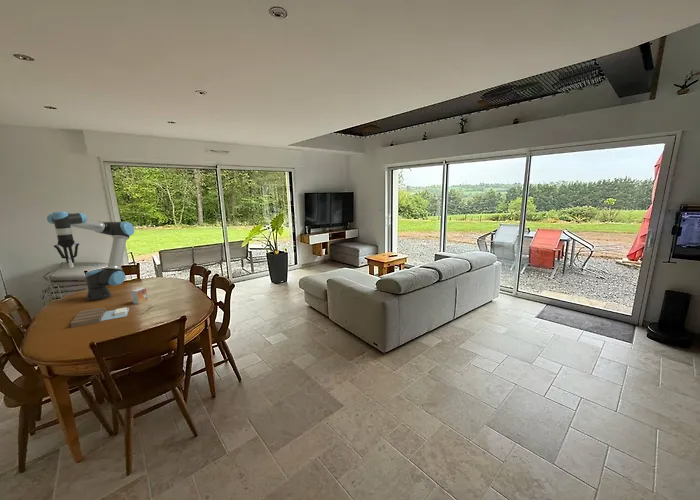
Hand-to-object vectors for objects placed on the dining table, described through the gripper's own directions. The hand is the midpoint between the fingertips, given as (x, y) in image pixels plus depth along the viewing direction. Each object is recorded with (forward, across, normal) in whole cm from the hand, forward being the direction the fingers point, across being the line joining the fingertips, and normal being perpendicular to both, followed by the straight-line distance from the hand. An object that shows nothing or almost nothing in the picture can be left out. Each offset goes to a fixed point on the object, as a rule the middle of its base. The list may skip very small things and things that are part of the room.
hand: (71, 267), depth 199 cm
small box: (+34, +35, -2) cm, 49 cm away
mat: (+33, +21, -21) cm, 45 cm away
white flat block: (+31, +24, -21) cm, 45 cm away
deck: (+33, +7, -20) cm, 40 cm away
